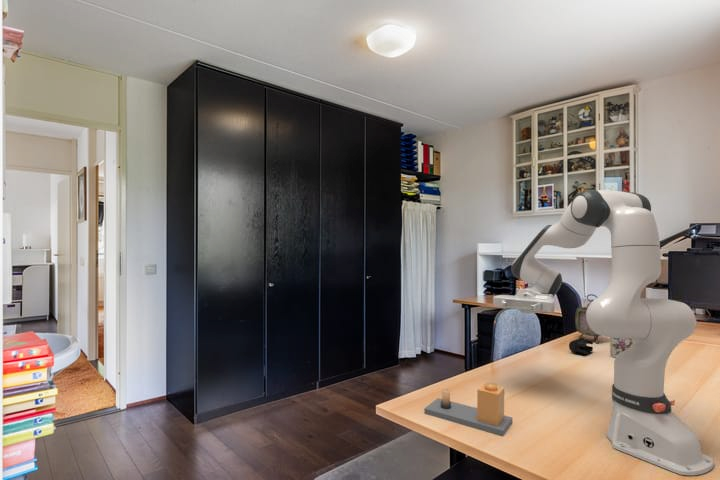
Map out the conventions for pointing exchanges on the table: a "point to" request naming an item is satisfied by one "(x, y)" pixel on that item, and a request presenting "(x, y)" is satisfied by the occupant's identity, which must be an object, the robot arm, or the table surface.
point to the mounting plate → (464, 414)
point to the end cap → (581, 347)
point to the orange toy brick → (490, 404)
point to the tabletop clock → (584, 322)
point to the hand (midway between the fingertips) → (518, 306)
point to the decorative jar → (619, 345)
